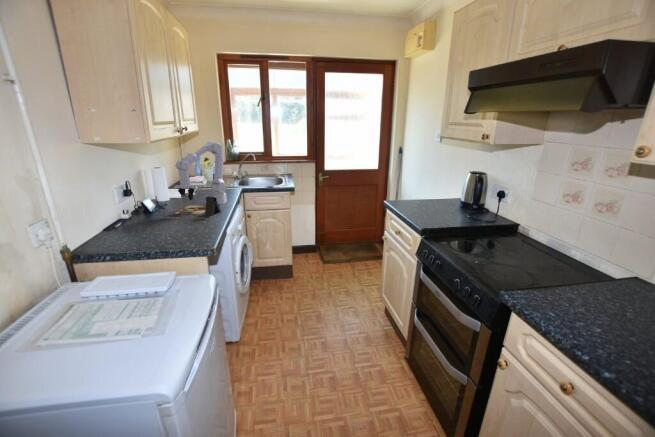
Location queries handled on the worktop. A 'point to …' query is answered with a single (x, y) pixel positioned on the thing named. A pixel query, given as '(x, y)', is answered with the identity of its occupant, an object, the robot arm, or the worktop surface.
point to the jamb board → (192, 210)
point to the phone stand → (211, 206)
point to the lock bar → (186, 198)
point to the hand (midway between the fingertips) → (188, 199)
